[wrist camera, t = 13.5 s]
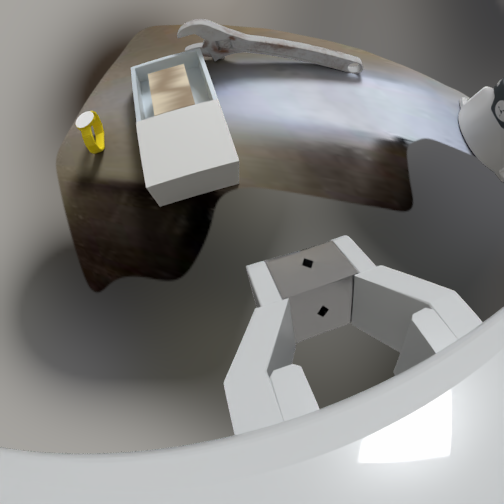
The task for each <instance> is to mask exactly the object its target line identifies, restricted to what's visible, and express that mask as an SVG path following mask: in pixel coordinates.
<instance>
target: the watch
mask: <svg viewBox="0 0 504 504" xmlns="http://www.w3.org/2000/svg"><path fill="white" fill-rule="evenodd" d="M91 126H93V128H94V132H95V136H96V143H95V140H94V137H93V135H92V130H91ZM76 127H77V128H78V130H80V131H81V133H82V138H83V140H84V143H85V145H86V147H87V149H88V150H89V151H90V152H91V153H93V154H96V153H98V152H101V151H103V150H104V148H105V146H104V130H103V126H102V123H101V121H100V118H99V116H98V115H97V114H96V112H94V111H88V112H85V113H83V114H81V115H80V116H79V117H78V119H77V120H76Z"/></svg>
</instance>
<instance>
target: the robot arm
mask: <svg viewBox="0 0 504 504" xmlns="http://www.w3.org/2000/svg"><path fill="white" fill-rule="evenodd" d="M459 102H460V108H461V109H460V112H459V117H458V119H459V125H460V129H461V132H462V134H463V136H464V138H465V140H466V142H467V144H468V146H469V147H470V149H471V150H472V152H473V153H474V154H475V156H476V157H477V158H478V159H479V160H480V161H481V162H482V163H483V164H484V165H485V166H486V167H487V168H489V169H490V170H491V171H493V172H494V173H495V174H496V176H497V177H498V178H499V179H500V180H501V181H502V182H503V183H504V78H503V79H502V80H500V81H499V82H498V84H497V85H496V86H495V87H494V88H491V87H487V86H486V87H484V88H483V89H481V90H480V91H479V92H478V93H476V94H475V95H474V96H473V97H472V98H471V99H467V98H461V99H460V101H459ZM246 270H247V273H248V277H249V281H250V285H251V288H252V292H253V296H254V299H255V303H256V306H257V308H256V309H255V310H254V313H253V315H252V317H251V320H250V322H249V325H248V327H247V329H246V332H245V334H244V336H243V339H242V341H241V344H240V346H239V348H238V351H237V353H236V355H235V358H234V360H233V362H232V365H231V367H230V369H229V371H228V374H227V376H226V378H225V381H224V388H225V393H226V397H227V402H228V407H229V411H230V416H231V420H232V424H233V429H234V433H235V435H234V436H229V437H225V438H220V439H216V440H211V441H206V442H201V443H195V444H189V445H183V446H178V447H170V448H163V449H155V450H146V451H135V452H122V453H102V454H101V453H97V454H71V453H48V452H35V451H25V450H17V449H10V448H3V447H0V504H504V307H502V308H501V309H500V310H499V311H497V312H496V313H495V314H493V315H492V316H491V317H489V318H488V319H487V320H485V321H484V322H482V321H481V320H480V318H479V317H478V316H477V315H476V314H475V313H474V312H473V311H472V309H471V308H470V307H469V306H468V305H467V304H466V303H465V302H464V300H462V298H461V297H460V296H459V295H458V294H457V293H456V292H455V291H453V290H451V289H448V288H445V287H442V286H440V285H437V284H434V283H431V282H428V281H425V280H423V279H420V278H417V277H414V276H411V275H408V274H405V273H402V272H399V271H397V270H394V269H391V268H388V267H385V266H382V265H381V266H378V267H376V265H375V264H374V263H373V262H372V261H371V260H370V259H369V258H368V257H367V256H366V255H365V253H364V252H363V251H362V250H361V249H360V248H359V247H358V246H357V245H356V244H355V243H354V242H353V240H352V239H351V238H350V237H349V236H346V235H344V236H341V237H338V238H336V239H333V240H330V241H328V242H325V243H322V244H319V245H316V246H313V247H310V248H306V249H303V250H300V251H296V252H293V253H289V254H286V255H282V256H279V257H275V258H272V259H268V260H265V261H262V262H258V263H255V264H251V265H248V266H246ZM349 323H351V324H352V325H354V326H355V327H357V328H359V329H360V330H362V331H364V332H365V333H367V334H369V335H371V336H372V337H374V338H376V339H378V340H379V341H381V342H383V343H385V344H386V345H388V346H390V347H391V348H393V349H395V350H397V351H398V352H400V355H399V358H398V361H397V364H396V367H395V369H394V374H395V376H394V377H392V378H390V379H388V380H386V381H384V382H382V383H380V384H378V385H376V386H374V387H372V388H369V389H367V390H365V391H363V392H361V393H358V394H356V395H354V396H352V397H349V398H347V399H344V400H342V401H340V402H337V403H334V404H332V405H329V406H327V407H324V408H322V409H319V407H318V405H317V402H316V400H315V398H314V396H313V393H312V391H311V389H310V386H309V384H308V382H307V379H306V377H305V375H304V373H303V370H302V368H301V366H297V365H294V364H292V361H293V357H294V352H295V348H296V343H298V342H301V341H303V340H306V339H309V338H311V337H314V336H316V335H319V334H321V333H324V332H327V331H330V330H332V329H335V328H338V327H341V326H344V325H346V324H349Z"/></svg>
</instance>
